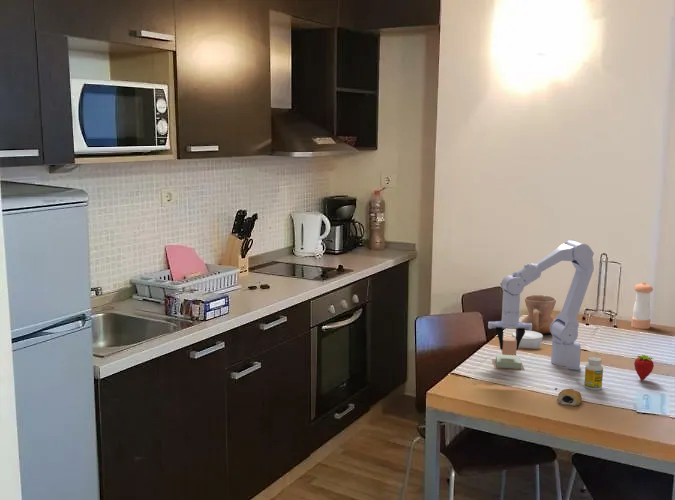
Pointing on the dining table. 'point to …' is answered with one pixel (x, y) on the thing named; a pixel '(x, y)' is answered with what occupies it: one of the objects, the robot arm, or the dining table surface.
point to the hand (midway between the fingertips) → (508, 348)
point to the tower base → (506, 368)
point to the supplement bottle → (593, 374)
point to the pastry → (569, 397)
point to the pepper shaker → (642, 306)
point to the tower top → (508, 361)
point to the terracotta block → (509, 346)
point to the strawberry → (643, 366)
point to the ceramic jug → (539, 312)
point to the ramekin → (530, 339)
